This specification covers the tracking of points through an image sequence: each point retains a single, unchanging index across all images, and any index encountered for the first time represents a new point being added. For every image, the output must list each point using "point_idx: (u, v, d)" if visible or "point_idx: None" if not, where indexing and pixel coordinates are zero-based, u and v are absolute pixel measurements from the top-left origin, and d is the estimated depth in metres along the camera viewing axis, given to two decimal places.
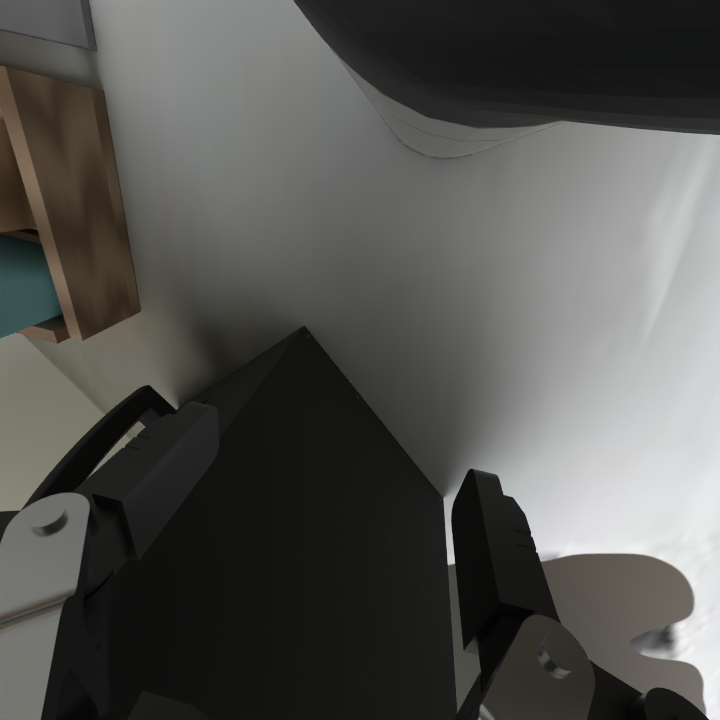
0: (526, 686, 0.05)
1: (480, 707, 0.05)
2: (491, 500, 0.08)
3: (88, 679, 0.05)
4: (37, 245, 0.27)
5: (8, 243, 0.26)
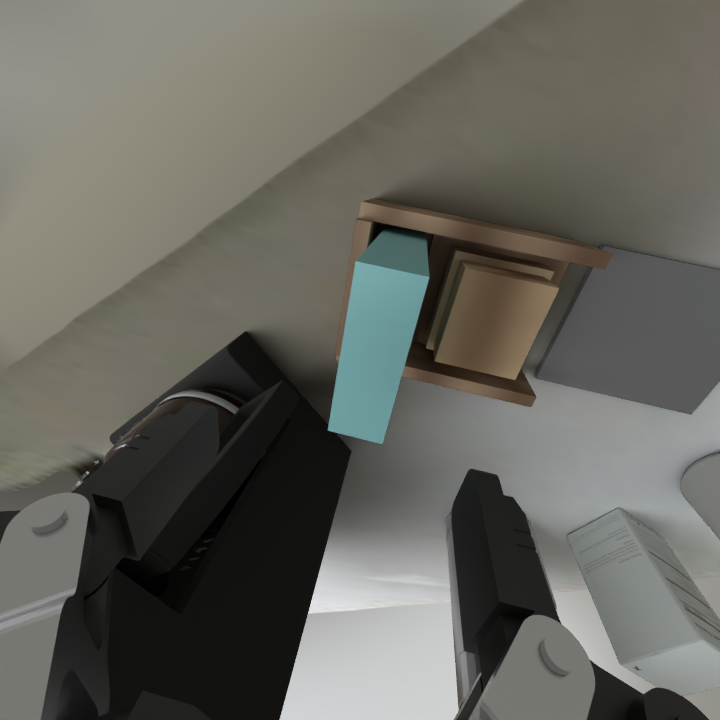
0: (526, 686, 0.05)
1: (480, 707, 0.05)
2: (491, 500, 0.08)
3: (88, 679, 0.05)
4: None
5: None
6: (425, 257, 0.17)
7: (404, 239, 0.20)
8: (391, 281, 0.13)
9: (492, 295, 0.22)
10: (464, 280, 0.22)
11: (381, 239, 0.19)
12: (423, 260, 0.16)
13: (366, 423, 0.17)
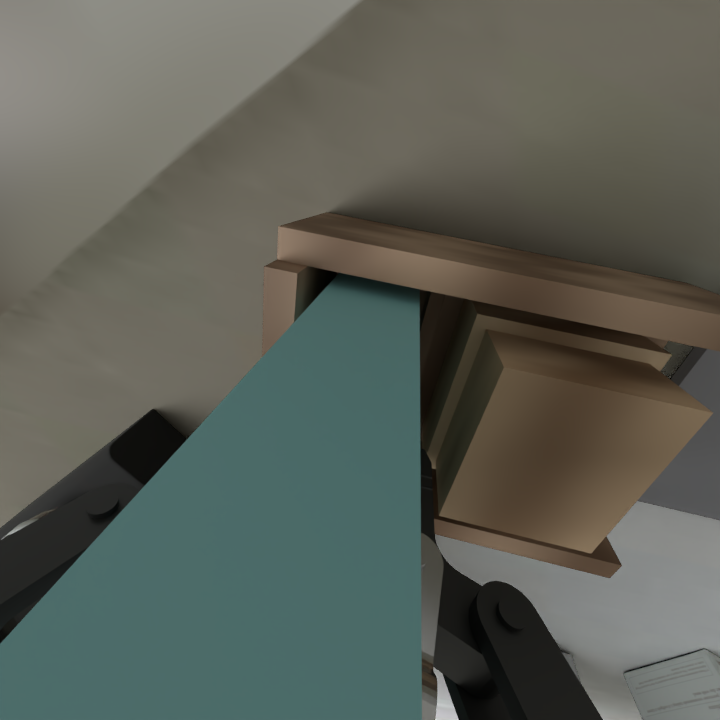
0: None
1: None
2: None
3: None
4: None
5: None
6: (412, 426, 0.05)
7: (369, 312, 0.09)
8: None
9: (559, 418, 0.10)
10: (501, 390, 0.10)
11: (305, 327, 0.08)
12: (403, 464, 0.04)
13: None
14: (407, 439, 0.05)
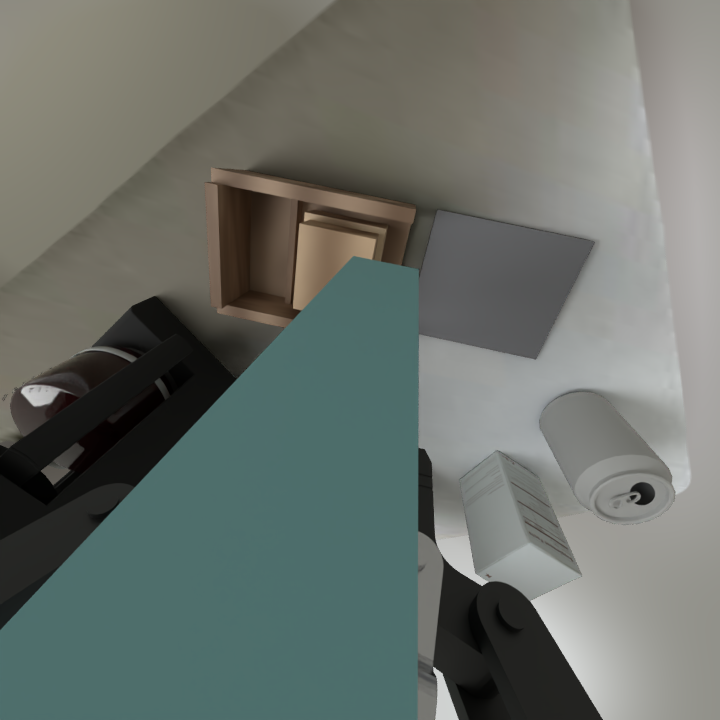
0: None
1: None
2: None
3: None
4: None
5: None
6: (410, 423, 0.05)
7: (368, 310, 0.09)
8: None
9: (325, 246, 0.26)
10: (301, 234, 0.26)
11: (304, 325, 0.08)
12: (401, 460, 0.04)
13: None
14: (405, 435, 0.05)
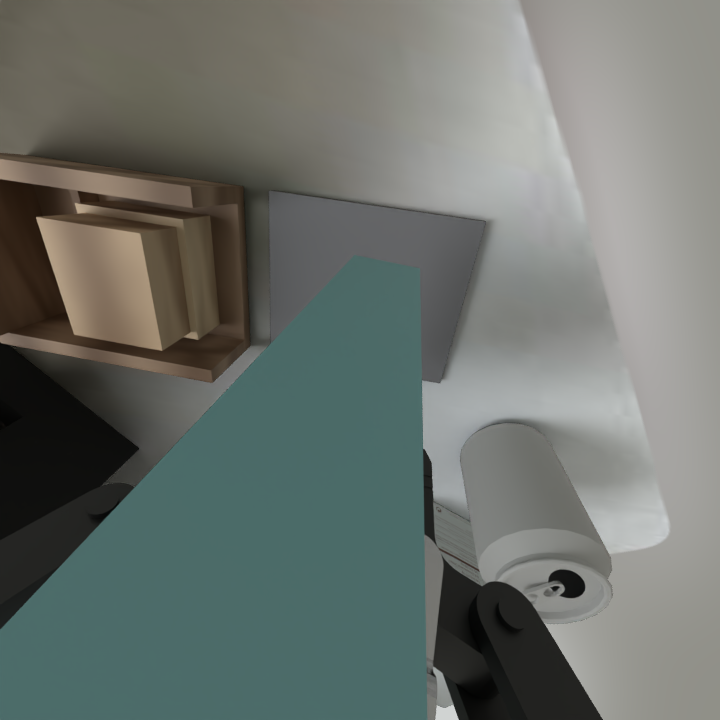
0: None
1: None
2: None
3: None
4: None
5: None
6: (414, 420, 0.05)
7: (370, 308, 0.09)
8: None
9: (80, 248, 0.18)
10: (44, 233, 0.18)
11: (306, 323, 0.08)
12: (406, 456, 0.04)
13: None
14: (409, 432, 0.05)
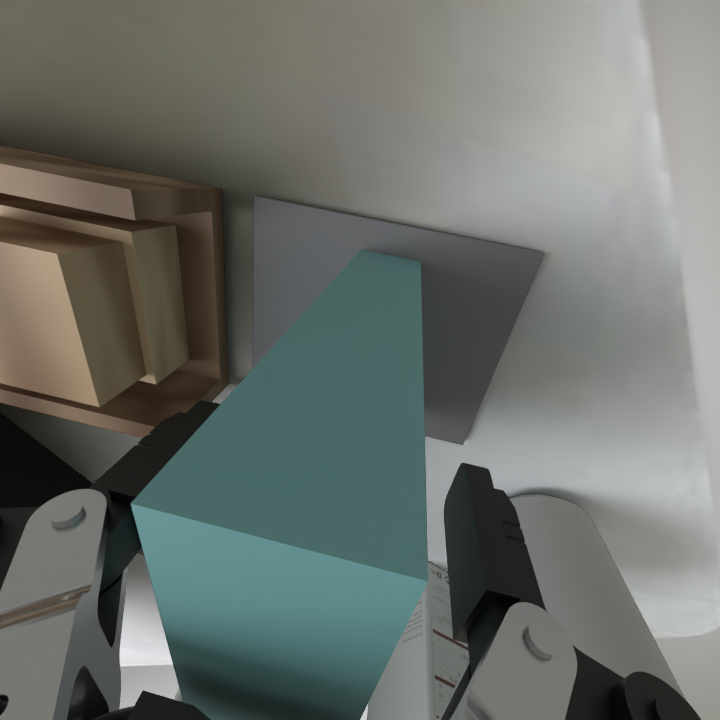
0: (512, 672, 0.05)
1: (468, 695, 0.05)
2: (481, 493, 0.09)
3: (100, 676, 0.05)
4: None
5: None
6: (417, 370, 0.07)
7: (378, 293, 0.11)
8: (280, 571, 0.03)
9: None
10: None
11: (326, 302, 0.09)
12: (411, 392, 0.06)
13: None
14: (413, 378, 0.06)
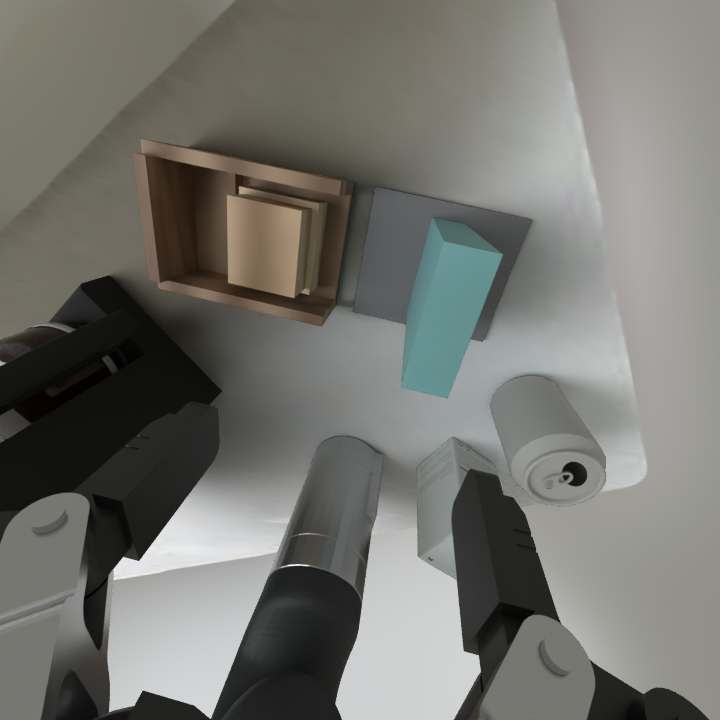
0: (526, 686, 0.05)
1: (480, 706, 0.05)
2: (491, 500, 0.08)
3: (88, 679, 0.05)
4: None
5: None
6: (486, 242, 0.20)
7: (457, 229, 0.24)
8: (471, 258, 0.17)
9: (253, 219, 0.26)
10: (229, 206, 0.26)
11: (441, 228, 0.22)
12: (486, 244, 0.19)
13: (435, 380, 0.20)
14: (486, 242, 0.20)
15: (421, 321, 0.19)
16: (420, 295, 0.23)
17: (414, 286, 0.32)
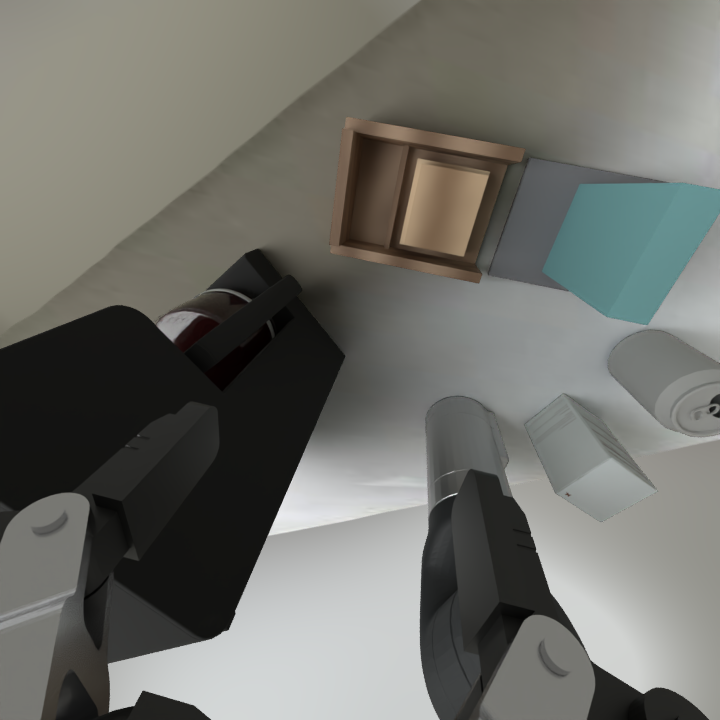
0: (526, 686, 0.05)
1: (480, 707, 0.05)
2: (491, 500, 0.08)
3: (88, 679, 0.05)
4: None
5: None
6: None
7: None
8: (703, 196, 0.21)
9: (442, 184, 0.30)
10: (421, 174, 0.30)
11: None
12: None
13: (641, 308, 0.24)
14: None
15: (642, 255, 0.23)
16: (608, 242, 0.27)
17: (557, 247, 0.35)
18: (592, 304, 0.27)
